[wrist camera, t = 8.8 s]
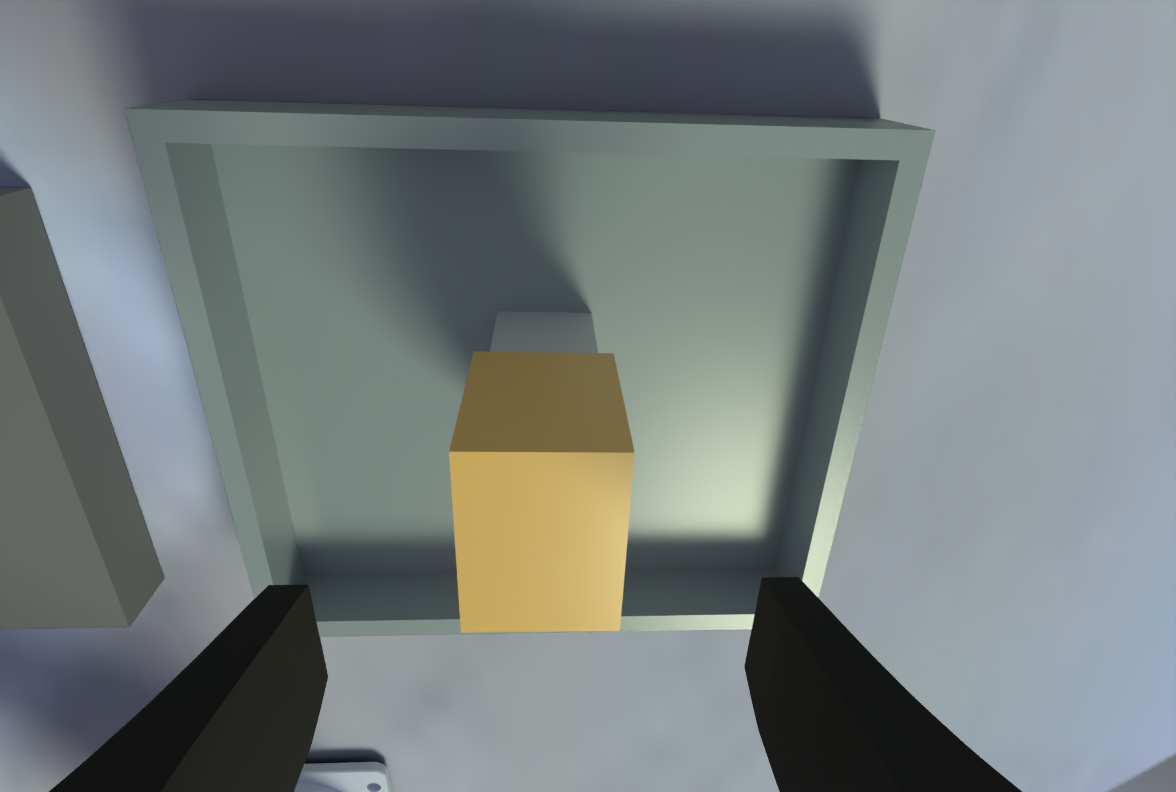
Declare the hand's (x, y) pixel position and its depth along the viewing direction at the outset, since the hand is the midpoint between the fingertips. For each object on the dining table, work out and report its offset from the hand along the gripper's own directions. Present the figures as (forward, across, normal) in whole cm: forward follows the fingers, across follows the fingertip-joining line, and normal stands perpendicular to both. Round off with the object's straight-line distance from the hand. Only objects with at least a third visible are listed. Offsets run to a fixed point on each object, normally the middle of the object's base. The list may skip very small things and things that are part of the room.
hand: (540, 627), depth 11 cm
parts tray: (+9, 0, 0) cm, 9 cm away
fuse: (+8, 0, -1) cm, 8 cm away
